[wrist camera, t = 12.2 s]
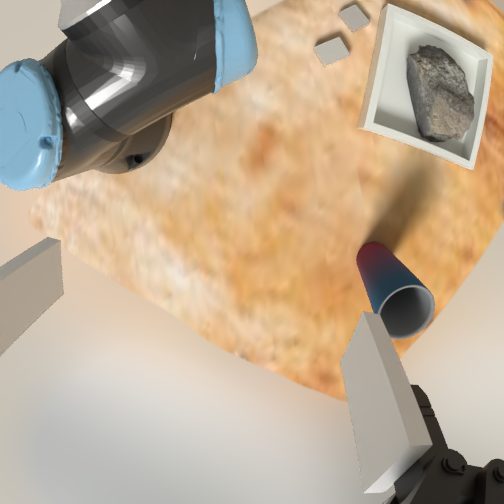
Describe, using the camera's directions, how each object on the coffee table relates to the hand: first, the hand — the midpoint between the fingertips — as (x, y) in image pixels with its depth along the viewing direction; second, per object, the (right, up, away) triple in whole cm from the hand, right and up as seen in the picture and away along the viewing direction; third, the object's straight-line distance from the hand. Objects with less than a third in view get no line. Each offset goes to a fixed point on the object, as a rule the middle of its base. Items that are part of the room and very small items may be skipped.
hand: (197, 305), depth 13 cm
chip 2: (+15, +33, +20) cm, 41 cm away
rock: (+27, +24, +22) cm, 42 cm away
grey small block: (+12, +28, +22) cm, 38 cm away
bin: (+26, +24, +22) cm, 42 cm away
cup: (+20, +1, +32) cm, 38 cm away
